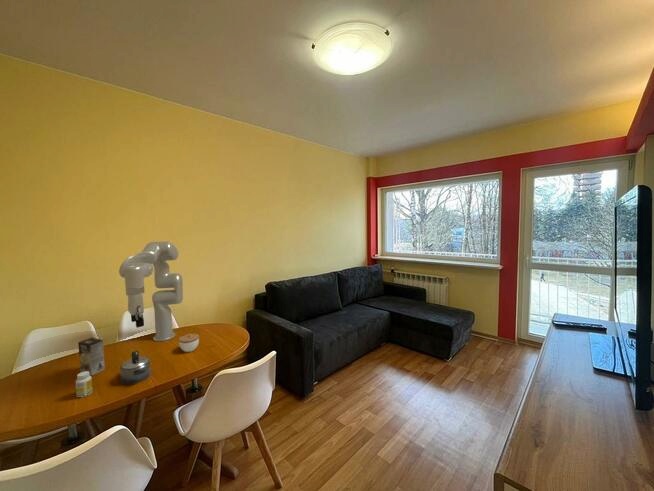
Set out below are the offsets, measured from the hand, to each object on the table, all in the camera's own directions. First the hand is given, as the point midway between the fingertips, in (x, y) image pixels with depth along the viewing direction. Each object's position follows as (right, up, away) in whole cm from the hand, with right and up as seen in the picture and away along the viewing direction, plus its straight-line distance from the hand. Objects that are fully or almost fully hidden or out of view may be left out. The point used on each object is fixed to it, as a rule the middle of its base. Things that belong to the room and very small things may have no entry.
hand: (137, 323), depth 135 cm
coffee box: (-26, -26, +4) cm, 36 cm away
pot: (+1, -26, -2) cm, 26 cm away
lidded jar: (+12, -24, +27) cm, 38 cm away
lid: (+1, -19, -2) cm, 19 cm away
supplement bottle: (-13, -27, -15) cm, 34 cm away
